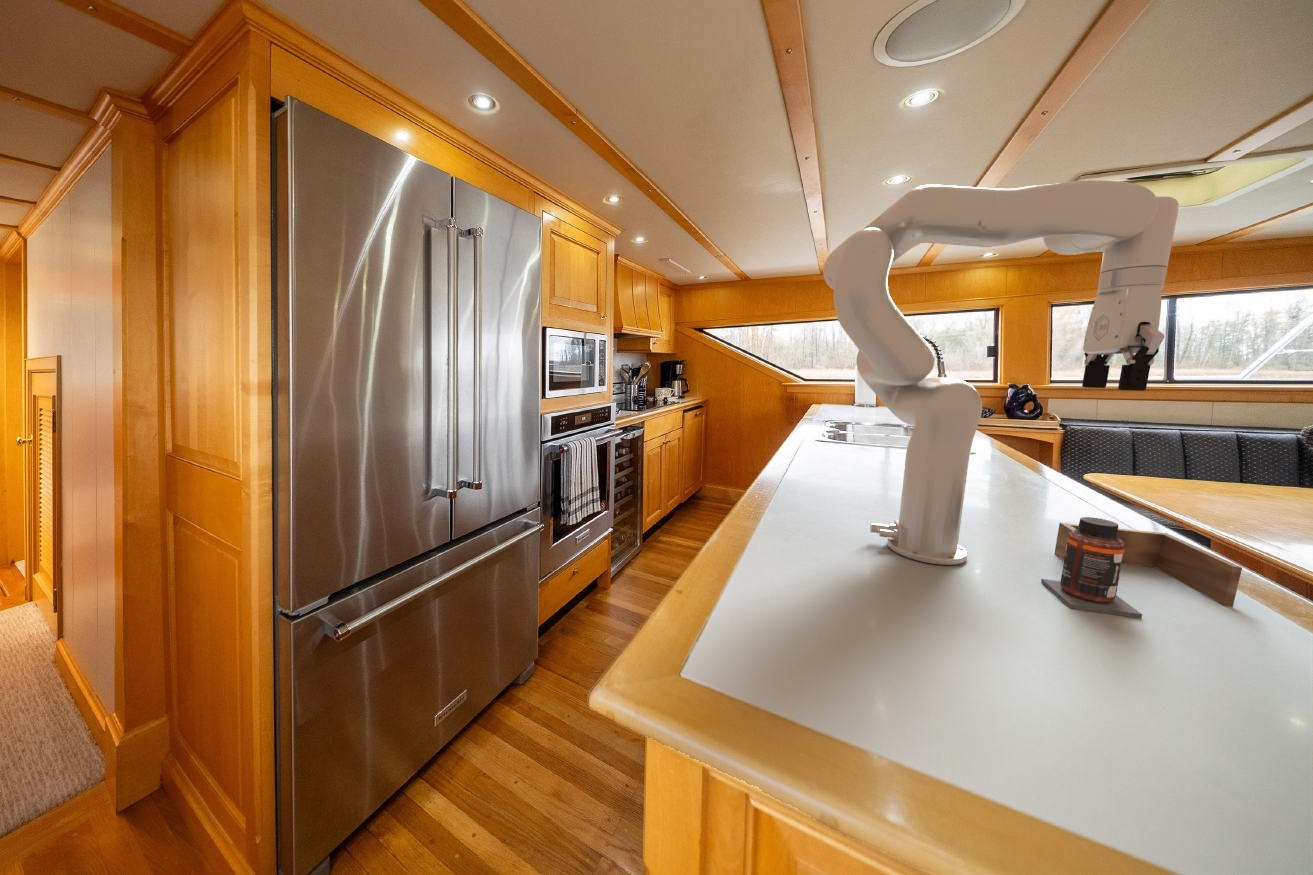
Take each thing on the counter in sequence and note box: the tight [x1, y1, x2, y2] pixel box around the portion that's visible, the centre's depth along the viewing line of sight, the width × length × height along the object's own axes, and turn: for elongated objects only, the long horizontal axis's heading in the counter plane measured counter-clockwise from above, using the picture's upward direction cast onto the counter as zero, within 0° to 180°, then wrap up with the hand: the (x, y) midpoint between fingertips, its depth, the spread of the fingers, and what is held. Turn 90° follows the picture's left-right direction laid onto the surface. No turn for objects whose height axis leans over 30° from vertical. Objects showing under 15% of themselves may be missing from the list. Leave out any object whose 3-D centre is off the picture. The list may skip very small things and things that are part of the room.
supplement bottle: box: [1060, 516, 1125, 603], centre depth 65 cm, size 6×6×11 cm
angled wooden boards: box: [1054, 522, 1243, 608], centre depth 73 cm, size 15×14×6 cm
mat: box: [1040, 578, 1143, 619], centre depth 66 cm, size 8×8×1 cm
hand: (1111, 388), depth 75 cm, fingers open, 9 cm apart
